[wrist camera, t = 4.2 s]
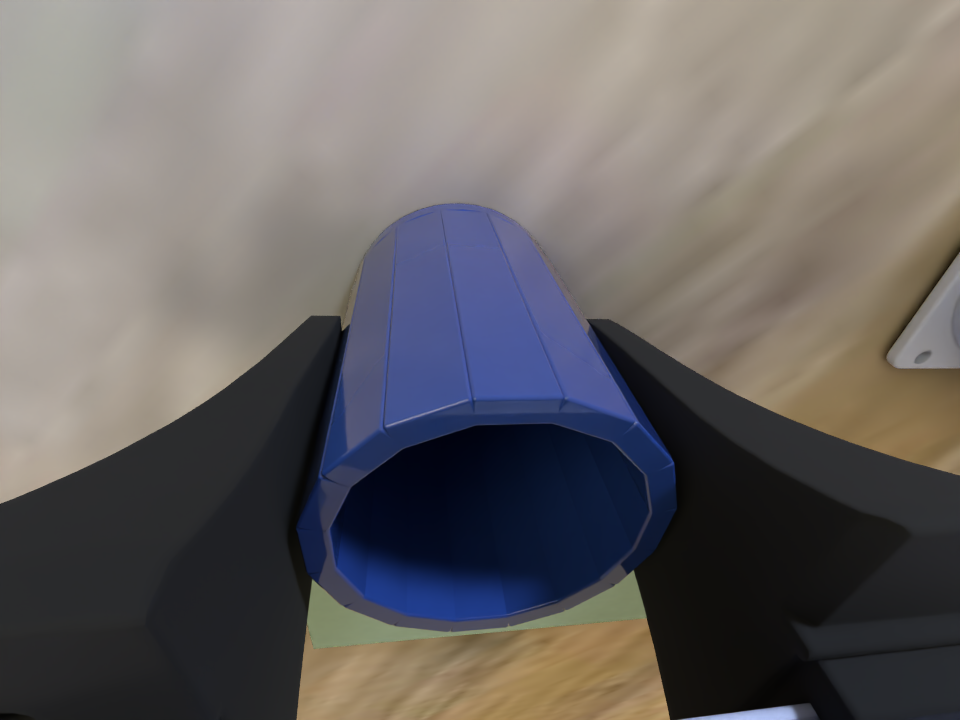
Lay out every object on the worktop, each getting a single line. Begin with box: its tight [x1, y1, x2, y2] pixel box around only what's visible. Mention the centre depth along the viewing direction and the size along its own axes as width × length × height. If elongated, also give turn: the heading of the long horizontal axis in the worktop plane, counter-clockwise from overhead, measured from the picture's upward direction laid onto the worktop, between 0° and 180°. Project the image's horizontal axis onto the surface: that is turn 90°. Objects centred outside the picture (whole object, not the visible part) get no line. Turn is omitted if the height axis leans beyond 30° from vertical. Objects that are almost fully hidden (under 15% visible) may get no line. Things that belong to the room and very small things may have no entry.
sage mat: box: [307, 570, 647, 649], centre depth 20 cm, size 20×13×1 cm, turn 85°
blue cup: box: [296, 204, 678, 632], centre depth 10 cm, size 6×6×8 cm
